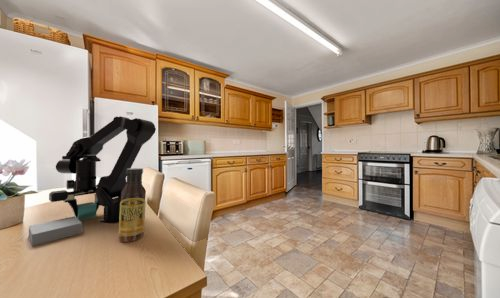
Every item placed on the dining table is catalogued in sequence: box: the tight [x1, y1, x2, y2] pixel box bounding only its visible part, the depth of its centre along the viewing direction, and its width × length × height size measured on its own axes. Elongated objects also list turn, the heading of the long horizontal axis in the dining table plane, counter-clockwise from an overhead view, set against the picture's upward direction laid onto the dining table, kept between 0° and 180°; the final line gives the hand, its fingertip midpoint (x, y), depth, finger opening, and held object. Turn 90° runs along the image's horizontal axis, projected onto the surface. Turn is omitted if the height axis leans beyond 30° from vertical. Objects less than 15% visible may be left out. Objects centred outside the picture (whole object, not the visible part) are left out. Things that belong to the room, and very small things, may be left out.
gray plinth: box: [28, 215, 83, 247], centre depth 56 cm, size 10×10×3 cm
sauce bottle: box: [118, 167, 147, 243], centre depth 53 cm, size 7×6×20 cm
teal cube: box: [76, 201, 97, 222], centre depth 70 cm, size 5×5×5 cm
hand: (85, 214), depth 70 cm, fingers closed on teal cube, 5 cm apart
